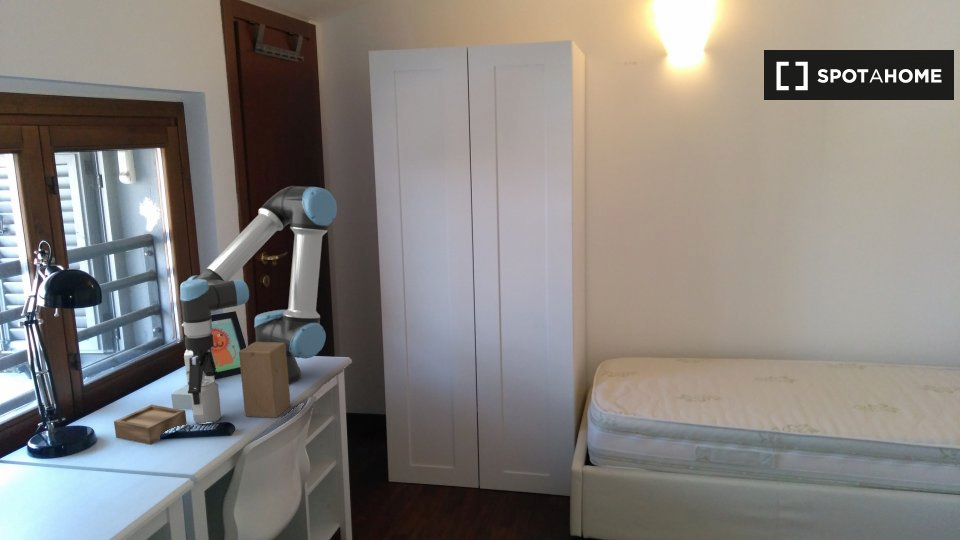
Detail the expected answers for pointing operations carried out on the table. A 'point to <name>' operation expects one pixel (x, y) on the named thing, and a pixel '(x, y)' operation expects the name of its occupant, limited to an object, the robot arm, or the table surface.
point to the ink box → (187, 364)
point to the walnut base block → (149, 423)
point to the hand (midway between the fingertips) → (205, 405)
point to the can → (209, 402)
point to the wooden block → (264, 379)
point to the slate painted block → (182, 398)
